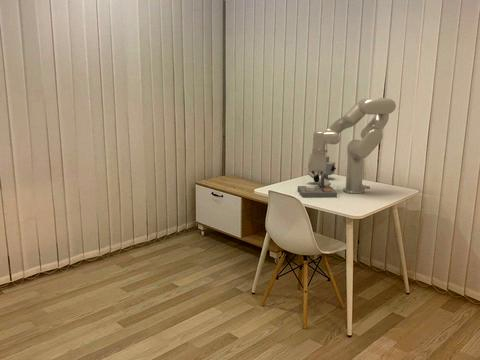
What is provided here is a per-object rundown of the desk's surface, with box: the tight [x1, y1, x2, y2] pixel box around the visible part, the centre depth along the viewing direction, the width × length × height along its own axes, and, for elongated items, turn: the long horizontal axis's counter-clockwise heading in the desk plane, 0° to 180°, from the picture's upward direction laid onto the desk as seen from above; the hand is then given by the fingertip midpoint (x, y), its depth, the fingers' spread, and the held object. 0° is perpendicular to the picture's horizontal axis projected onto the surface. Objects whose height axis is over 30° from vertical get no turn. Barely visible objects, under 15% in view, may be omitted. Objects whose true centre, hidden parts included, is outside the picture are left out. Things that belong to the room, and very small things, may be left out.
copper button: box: [322, 188, 331, 192], centre depth 277 cm, size 4×4×3 cm
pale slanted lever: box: [307, 172, 332, 186], centre depth 304 cm, size 8×6×14 cm
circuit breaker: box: [316, 155, 337, 180], centre depth 319 cm, size 8×14×15 cm, turn 57°
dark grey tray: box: [297, 185, 338, 199], centre depth 281 cm, size 20×16×3 cm
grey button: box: [305, 185, 315, 192], centre depth 276 cm, size 4×4×3 cm
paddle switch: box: [317, 176, 326, 188], centre depth 284 cm, size 4×4×6 cm
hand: (316, 182), depth 284 cm, fingers closed
